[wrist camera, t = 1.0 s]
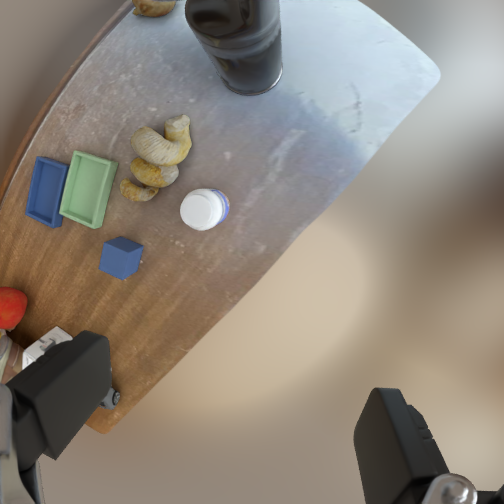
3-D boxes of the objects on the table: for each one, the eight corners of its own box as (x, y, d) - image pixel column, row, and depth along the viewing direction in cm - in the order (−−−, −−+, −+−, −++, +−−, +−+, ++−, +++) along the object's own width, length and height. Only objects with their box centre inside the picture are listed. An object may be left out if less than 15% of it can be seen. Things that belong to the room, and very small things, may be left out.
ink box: (69, 366, 56) (39, 394, 45) (52, 353, 56) (20, 379, 45) (74, 337, 54) (40, 364, 43) (56, 324, 54) (21, 348, 43)
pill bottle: (192, 221, 47) (171, 230, 38) (197, 186, 46) (176, 186, 37) (228, 226, 47) (214, 237, 37) (233, 190, 46) (220, 192, 36)
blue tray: (45, 156, 47) (36, 156, 45) (74, 166, 47) (66, 166, 45) (33, 212, 50) (24, 214, 47) (61, 226, 50) (52, 228, 47)
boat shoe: (-11, 399, 53) (21, 413, 59) (-12, 373, 40) (34, 393, 46) (-4, 364, 61) (27, 378, 67) (2, 326, 48) (44, 346, 53)
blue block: (120, 236, 49) (104, 242, 44) (143, 245, 49) (128, 252, 43) (115, 261, 50) (98, 269, 45) (137, 270, 50) (122, 280, 44)
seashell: (205, 137, 39) (125, 213, 41) (217, 149, 45) (145, 215, 47) (165, 92, 39) (93, 164, 41) (180, 107, 45) (114, 171, 47)
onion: (189, -4, 39) (160, 27, 44) (157, -27, 36) (130, 5, 40) (177, -4, 34) (145, 32, 39) (141, -28, 30) (111, 8, 35)
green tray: (82, 151, 46) (74, 150, 44) (118, 162, 46) (111, 162, 44) (67, 212, 49) (58, 213, 47) (101, 227, 49) (93, 229, 46)
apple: (8, 294, 55) (-24, 309, 44) (19, 271, 53) (-16, 285, 42) (29, 323, 55) (-2, 342, 45) (42, 301, 53) (8, 320, 43)
